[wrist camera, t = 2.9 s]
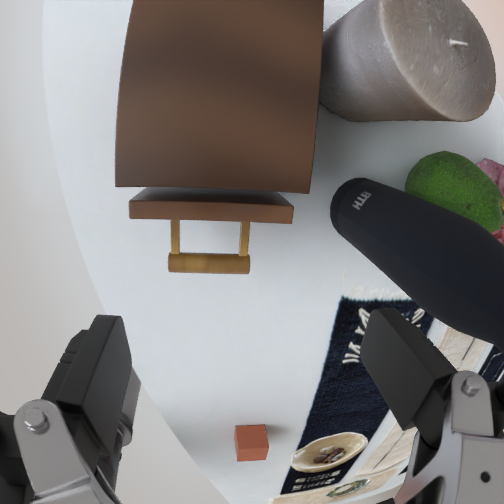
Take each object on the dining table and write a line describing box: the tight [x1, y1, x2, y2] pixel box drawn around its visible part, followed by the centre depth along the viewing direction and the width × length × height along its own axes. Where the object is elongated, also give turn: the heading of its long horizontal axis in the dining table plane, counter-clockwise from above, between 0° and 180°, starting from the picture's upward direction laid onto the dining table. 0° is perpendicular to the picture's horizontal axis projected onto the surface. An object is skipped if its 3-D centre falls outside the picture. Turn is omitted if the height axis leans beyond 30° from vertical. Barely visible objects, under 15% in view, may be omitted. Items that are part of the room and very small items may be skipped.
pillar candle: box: [319, 0, 496, 122], centre depth 16 cm, size 10×10×15 cm
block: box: [235, 425, 269, 461], centre depth 37 cm, size 4×4×4 cm
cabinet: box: [115, 0, 324, 194], centre depth 18 cm, size 14×12×9 cm
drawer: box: [129, 187, 294, 274], centre depth 20 cm, size 17×10×7 cm, turn 176°
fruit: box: [405, 151, 504, 233], centre depth 22 cm, size 8×8×12 cm
